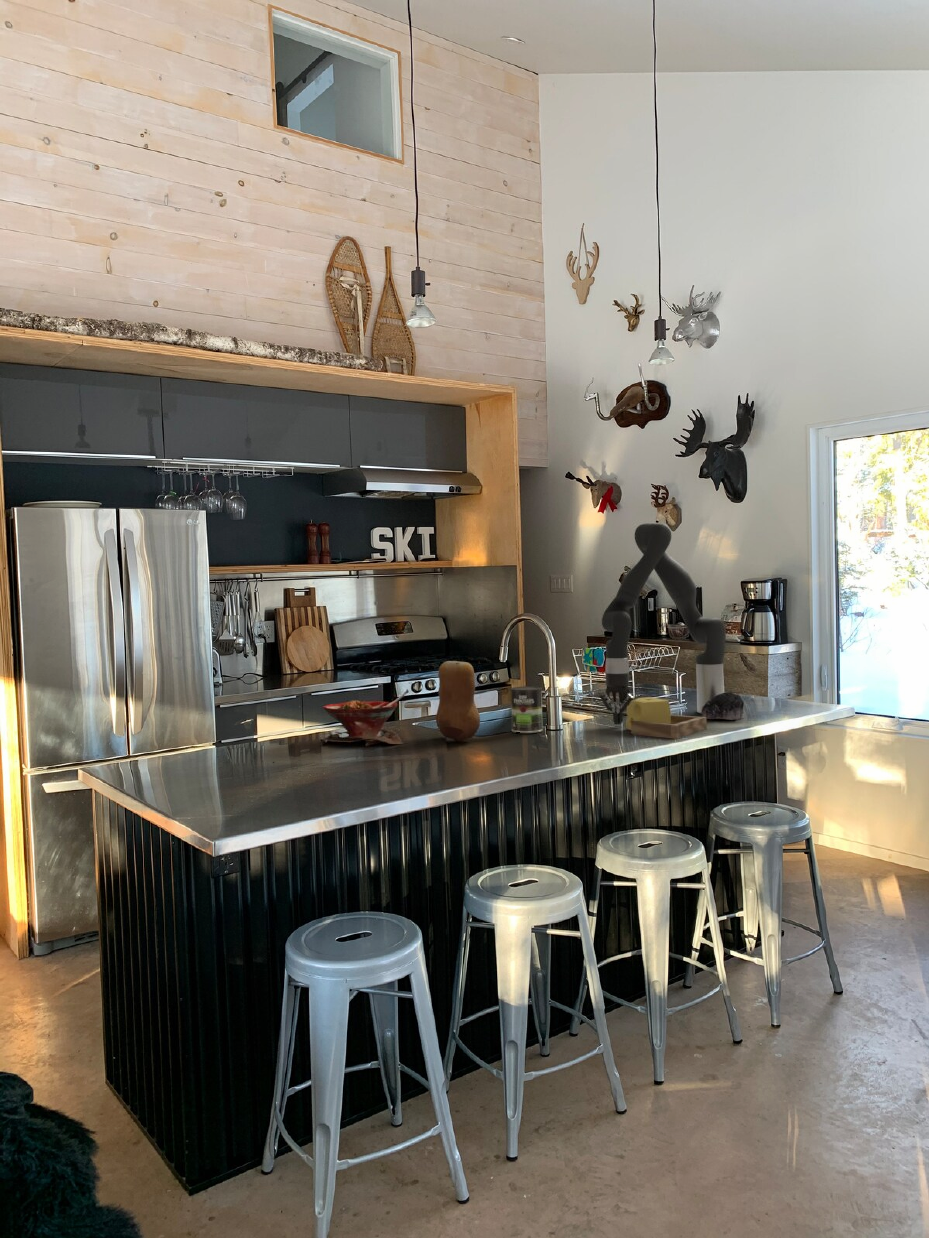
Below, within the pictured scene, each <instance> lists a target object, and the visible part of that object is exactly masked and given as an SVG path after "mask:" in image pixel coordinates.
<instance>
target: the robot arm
mask: <svg viewBox="0 0 929 1238" xmlns="http://www.w3.org/2000/svg"><path fill="white" fill-rule="evenodd" d="M634 541H635V545H636V546H637V548H638V549H639V551H641V553H642V554H643V555H642V557H641V558H640V559H639V560H638V562H637V563H636V564H635V565H634V566H633V567H632V568H631V569H630V570H629V572H627V574H626V575H625V576H624V578H623V579H622V582H621V584H620V586H619V588H618V591H617V593H616V595H615V597H614V598H613V599H612V600H611V602H610V604H608V606H607V608H606V609H605V610H604V612H603V613H602V618H601V626H602V628H603V629H604V630H605V631H607V632H611V633H612V636H611V639H609V640H607V641H606V644H605V658H606V659H605V686H606V689H605V692H604V693H603V694H600V695H599V698H600V700H601V702H602V703H603V705H604V706H605V708H606V709H607V710H608V711H610V712H612V715H613V716H612V717H613V718H612V721H613V724H614V725H622V723H624V722H623V721H624V719H623V718H624V715H623V714H624V712H626V710H627V706H628V705H629V704H630V702H631V701H634V700H635V699H637V697H636V696H633V695H632V694H631V691H630V689H629V685H630V672H629V671H630V670H629V669H630V668H629V667H630V665H629V664H630V663H629V657H628V651H629V649H628V647H629V646H628V644H629V641H630V637H631V631H632V625H633V624H632V619H631V618H632V617H631V616H630V614H629V613H628V612H627V611H629V610H630V609H632V608H634V607H635V606H636V605H637V603H638V601H639V598H640V596H641V593H642V591H643V589H644V587H645V585H646V583H647V581H648V579H649V578H650V576H651V574H652V572H653V571H655V573H656V574H657V577H658V578H659V579H660V581H661V583H662V585H663V586H664V588H665V590H666V591H667V594H668V595H669V597H670V598H671V600H672V601H673V603H674V605H675V606H676V608H677V609H678V611H679V614H680V615H681V618H682V619H683V622H684V624H685V626H686V628H687V630H688V633H689V635H690V637H691V638H692V640H693V641H694V642H695V643H697V644H701V645H705V646H706V647H705V650H704V652H702V653H700V654H697V655H696V657H695V668H696V670H695V671H696V709H697V713H699V714H702V711H701V710H702V708H703V706H704V705H705V704H706V702H708V701H709V700H710V699H711V698H714V697H715V696H716V695H718V694H722V693H725V684H724V683H725V682H724V680H725V679H724V676H725V675H724V658H725V656H726V655H725V654H726V635H727V633H726V626H725V625H726V624H725V623H724V621H723V620H722V619H720V618H718V617H704V616H703V615H702V614H701V613H700V610H699V609H698V608H697V605H696V604H697V603H696V601H697V600H696V599H697V586H696V584H695V582H694V581H693V578H692V577H691V575H690V574H689V572H688V571H687V570H686V568H684V567H683V565H681V564H680V563H679V562H678V561H676V560H675V559H674V558H673V557H671V555H669V554H668V552H667V549H668V548H669V546H670V543H671V541H672V532H671V529H670V527H669V526H668V525H666V524H665V523H657V522H656V523H652V522H651V523H649V522H648V523H641V524H639V525H638V526H637V527H636V528H635V530H634Z"/></svg>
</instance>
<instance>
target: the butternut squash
mask: <svg viewBox="0 0 929 1238" xmlns="http://www.w3.org/2000/svg"><path fill="white" fill-rule="evenodd" d="M437 675H438V680H439V682H438V684H439V686H438V691H437V693H438V698H439V699H438V701H439V704H438V706H437V707H438V708H437V711H436V716H435V723H436V726H437V728H438V729H439V732H440V734H442V736H444V737H445V738H447V739H452V740H454V741H455V740H456V742H465V741H466V740H468V739H471V738H473V737H474V736H475V735H476V734H477V731H478V730H479V729H480V725H481V724H480V723H481V717H480V713H479V710H478V708H477V706H476V703H475V691H476V679H475V671H474V667H473V666H472V664H471V663H470V662H466V661H457V660H452V661H451V660H447V661H444V662H443V663H442V664H441V665H440V666H439V669H438V673H437ZM464 740H465V741H464Z"/></svg>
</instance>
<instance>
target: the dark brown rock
mask: <svg viewBox="0 0 929 1238" xmlns="http://www.w3.org/2000/svg"><path fill="white" fill-rule="evenodd" d="M744 706H745V703H744V700H743V698H742V697H741V695H740V694H738V693H735V692H733V691H726V692H725V691H724V693H722V694H718V695H716V696H715V697H714V698H711V699H710V700H709V701H708V702H706V704H705V705H704V706H703V708H702V710H701V711H702V713H701V717H706V720H708V719H709V720H729V721H730V720H731V721H733V720H736V721H737V720H740V719H742V717H743V714H744Z"/></svg>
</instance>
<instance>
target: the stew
mask: <svg viewBox="0 0 929 1238" xmlns="http://www.w3.org/2000/svg"><path fill="white" fill-rule="evenodd" d="M408 693H410V692H409V689H407V688H406V690H405V692H403V694H401V695H400V696H399V697H397V698H396V699H395V700H393V701H392V702H390V701H379V700H378V701H377V700H376V701H361V700H356V699H355V700H353V699H351V700H350V701H348V702H339V703H329V704H327V705H323V706H322V708H323V710H324V711H325V712H326V713H327V714H328V715H329V716H330V717H332V718H333V719H335V720H336V721H338V722H339V723H340V725H342V727H343V728H344V729H345V730H346V731H343V732H342V731H341V732H339V731H335V733H334V731H333V730H331V733H330V735H328V736H327V737H323V738H320V747H323V746H325V744H327V743H328V742H329V743H330V742H337V743H343V742H345V743H346V742H347V743H351V742H361V741H365V744H364V745H365V746H366V747H367V746H372V745H378V744H382V743H383V744H384V743H387V744H389V745H391V744H392V745H401V744H404V742H403V741H402V739H401V737H400V736H399V734H398V732H396V731H394V730H388V729H383V727H384V724H385V723H386V721H387V720H388V719H389V718H390V717H391V716H392V714H393V712H394V711H395V710H396V708H397V707H398V702H399V701H400V700H402V699H403V698H404V697H405V696H406V695H407V694H408ZM380 732H382V733H383V734H382V735H380V736H377V735H379V733H380ZM333 733H334V734H333ZM386 733H389V734H388V735H385V734H386ZM342 734H346V735H347V736H343V737H342V736H341V735H342Z"/></svg>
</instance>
